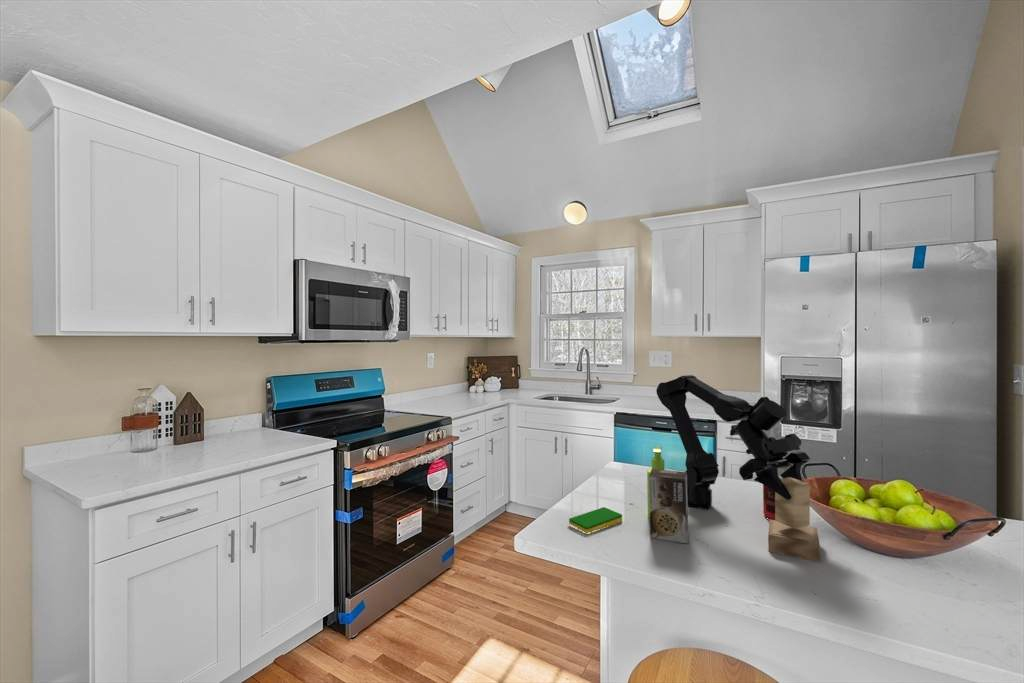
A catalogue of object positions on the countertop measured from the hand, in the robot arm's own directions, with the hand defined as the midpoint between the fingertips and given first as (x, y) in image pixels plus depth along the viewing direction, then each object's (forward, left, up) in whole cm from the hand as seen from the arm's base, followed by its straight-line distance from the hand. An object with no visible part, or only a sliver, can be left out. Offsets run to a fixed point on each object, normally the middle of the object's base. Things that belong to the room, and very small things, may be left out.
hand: (797, 497), depth 105 cm
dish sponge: (-47, -9, -13) cm, 50 cm away
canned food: (-4, +19, -13) cm, 23 cm away
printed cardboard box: (-28, -7, -13) cm, 32 cm away
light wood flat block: (-1, +1, -13) cm, 13 cm away
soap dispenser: (-33, +3, -13) cm, 36 cm away
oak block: (-1, +1, -7) cm, 7 cm away
